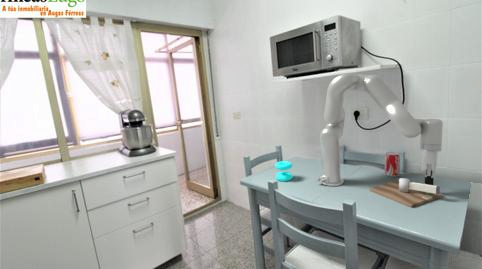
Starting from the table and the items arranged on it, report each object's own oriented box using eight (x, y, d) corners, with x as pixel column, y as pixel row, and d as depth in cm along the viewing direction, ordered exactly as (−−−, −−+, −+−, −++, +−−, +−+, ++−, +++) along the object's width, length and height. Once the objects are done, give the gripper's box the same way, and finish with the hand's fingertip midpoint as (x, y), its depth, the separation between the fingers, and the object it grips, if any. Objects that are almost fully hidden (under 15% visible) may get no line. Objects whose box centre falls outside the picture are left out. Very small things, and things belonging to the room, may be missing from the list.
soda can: (381, 174, 141) (382, 152, 139) (393, 172, 142) (394, 151, 139) (390, 178, 134) (390, 155, 132) (402, 176, 135) (403, 154, 132)
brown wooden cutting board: (411, 207, 101) (411, 204, 101) (369, 190, 121) (369, 187, 121) (444, 196, 108) (444, 193, 108) (398, 182, 128) (399, 179, 128)
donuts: (272, 162, 149) (287, 159, 152) (273, 177, 150) (287, 175, 153) (279, 166, 139) (295, 163, 142) (280, 183, 141) (295, 179, 144)
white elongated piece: (398, 190, 114) (398, 180, 113) (399, 188, 117) (400, 177, 116) (439, 198, 104) (439, 186, 103) (439, 194, 107) (440, 183, 106)
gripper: (421, 142, 117) (420, 178, 120) (418, 149, 105) (417, 189, 109) (441, 143, 112) (439, 181, 115) (441, 151, 101) (438, 192, 104)
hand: (428, 185), depth 112 cm, fingers closed
